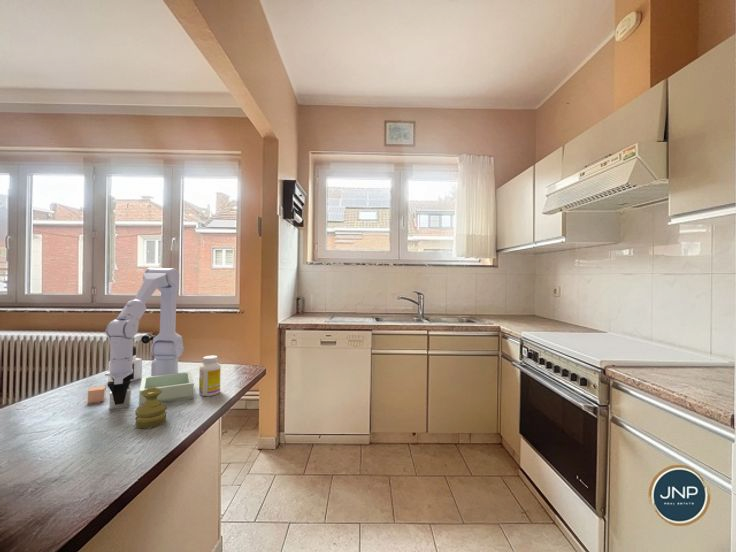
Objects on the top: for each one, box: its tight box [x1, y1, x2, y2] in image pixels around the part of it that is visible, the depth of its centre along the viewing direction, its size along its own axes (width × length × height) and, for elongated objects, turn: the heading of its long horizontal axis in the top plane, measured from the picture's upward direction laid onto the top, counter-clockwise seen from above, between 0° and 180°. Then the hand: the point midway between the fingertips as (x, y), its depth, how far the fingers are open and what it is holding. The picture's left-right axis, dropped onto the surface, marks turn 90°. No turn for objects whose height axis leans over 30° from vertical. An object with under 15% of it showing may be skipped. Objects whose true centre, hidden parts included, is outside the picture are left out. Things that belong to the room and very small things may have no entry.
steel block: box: [108, 385, 132, 410], centre depth 104 cm, size 5×5×5 cm
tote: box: [138, 371, 195, 407], centre depth 113 cm, size 15×15×5 cm
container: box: [107, 345, 143, 382], centre depth 127 cm, size 8×8×13 cm
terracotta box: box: [87, 385, 107, 404], centre depth 107 cm, size 4×4×4 cm
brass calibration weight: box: [134, 387, 168, 429], centre depth 92 cm, size 7×7×10 cm
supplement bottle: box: [198, 354, 221, 397], centre depth 115 cm, size 7×7×13 cm
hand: (120, 400), depth 104 cm, fingers open, 6 cm apart
